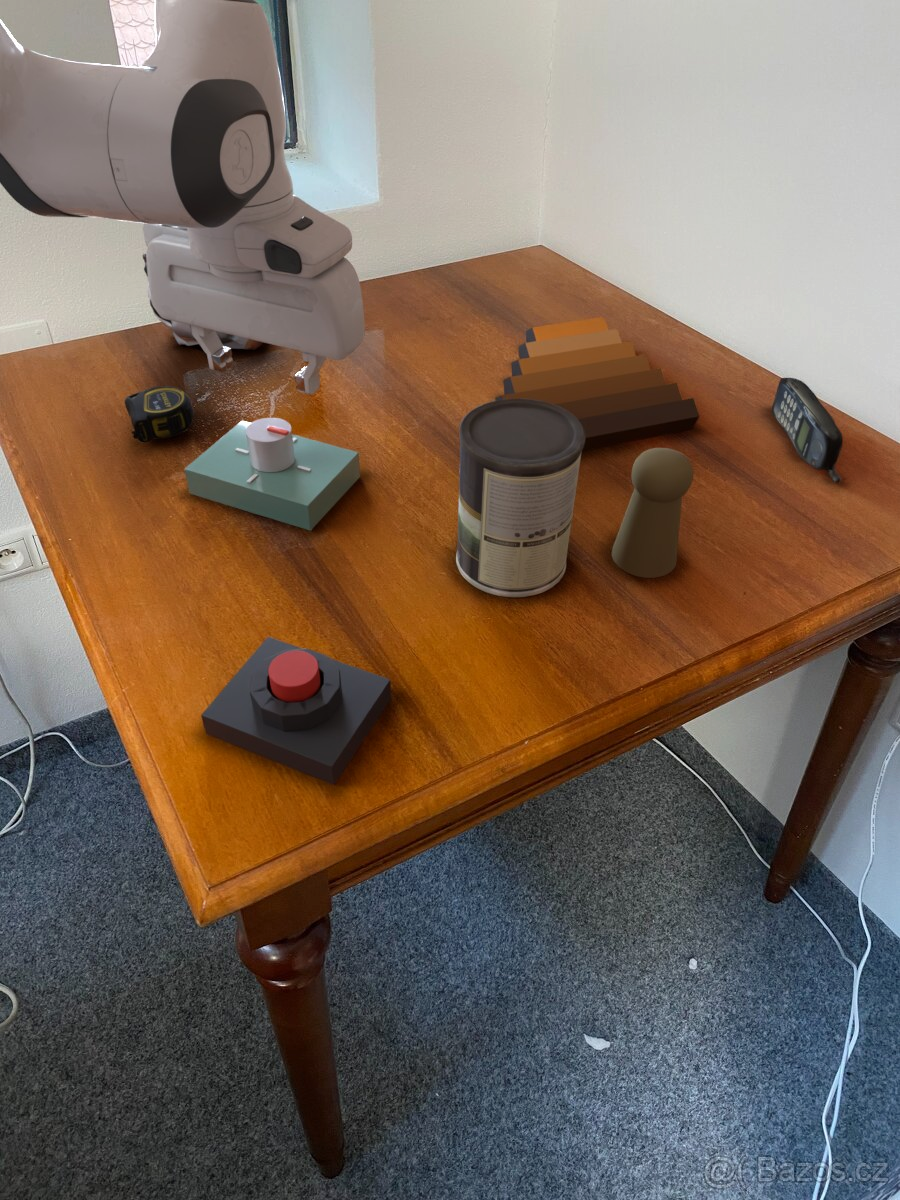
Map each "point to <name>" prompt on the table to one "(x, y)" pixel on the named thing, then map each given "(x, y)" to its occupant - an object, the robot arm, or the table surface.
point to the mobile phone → (808, 425)
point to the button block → (299, 713)
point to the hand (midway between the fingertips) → (264, 379)
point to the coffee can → (516, 495)
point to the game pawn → (653, 514)
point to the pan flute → (598, 383)
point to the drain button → (294, 676)
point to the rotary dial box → (275, 479)
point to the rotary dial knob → (270, 444)
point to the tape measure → (159, 413)
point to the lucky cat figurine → (186, 338)
